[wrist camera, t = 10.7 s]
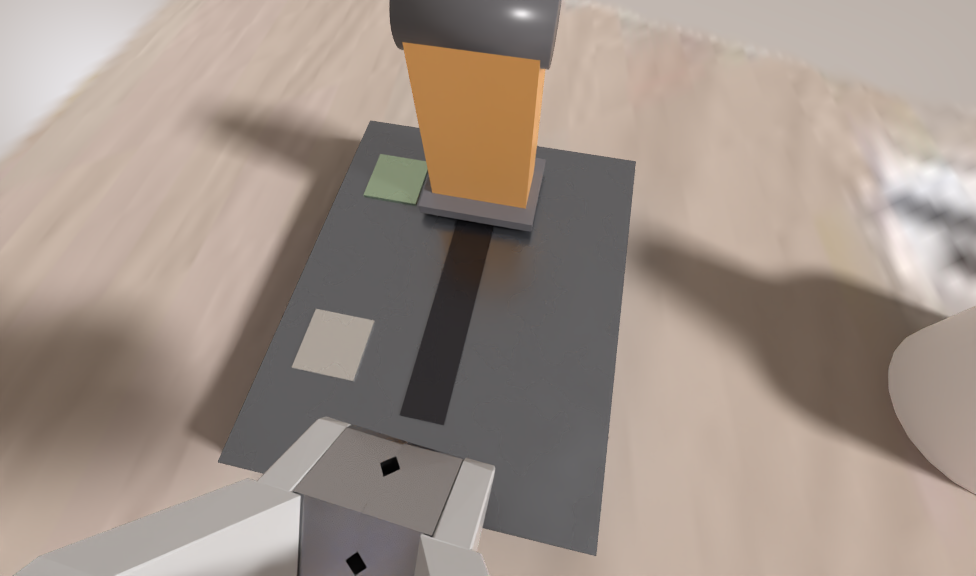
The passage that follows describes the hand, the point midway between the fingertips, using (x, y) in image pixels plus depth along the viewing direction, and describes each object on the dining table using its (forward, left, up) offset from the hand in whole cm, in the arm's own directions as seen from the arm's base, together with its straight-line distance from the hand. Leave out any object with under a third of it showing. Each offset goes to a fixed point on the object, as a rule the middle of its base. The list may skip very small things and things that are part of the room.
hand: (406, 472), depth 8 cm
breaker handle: (+12, +10, -12) cm, 19 cm away
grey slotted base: (+7, +7, -15) cm, 18 cm away
